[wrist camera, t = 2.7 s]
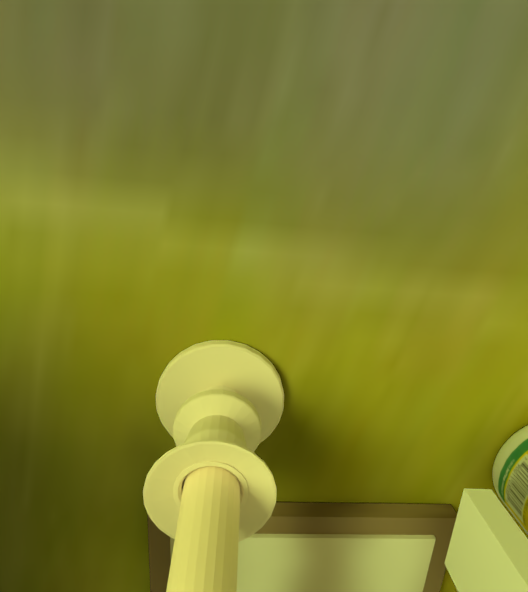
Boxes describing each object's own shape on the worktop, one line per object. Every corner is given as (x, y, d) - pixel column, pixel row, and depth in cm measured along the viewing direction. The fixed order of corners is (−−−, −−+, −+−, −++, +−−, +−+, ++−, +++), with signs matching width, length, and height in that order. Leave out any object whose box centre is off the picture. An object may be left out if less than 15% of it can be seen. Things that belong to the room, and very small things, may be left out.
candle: (293, 347, 16) (366, 631, 6) (272, 453, 18) (305, 812, 8) (163, 330, 16) (25, 608, 6) (153, 441, 17) (31, 807, 8)
